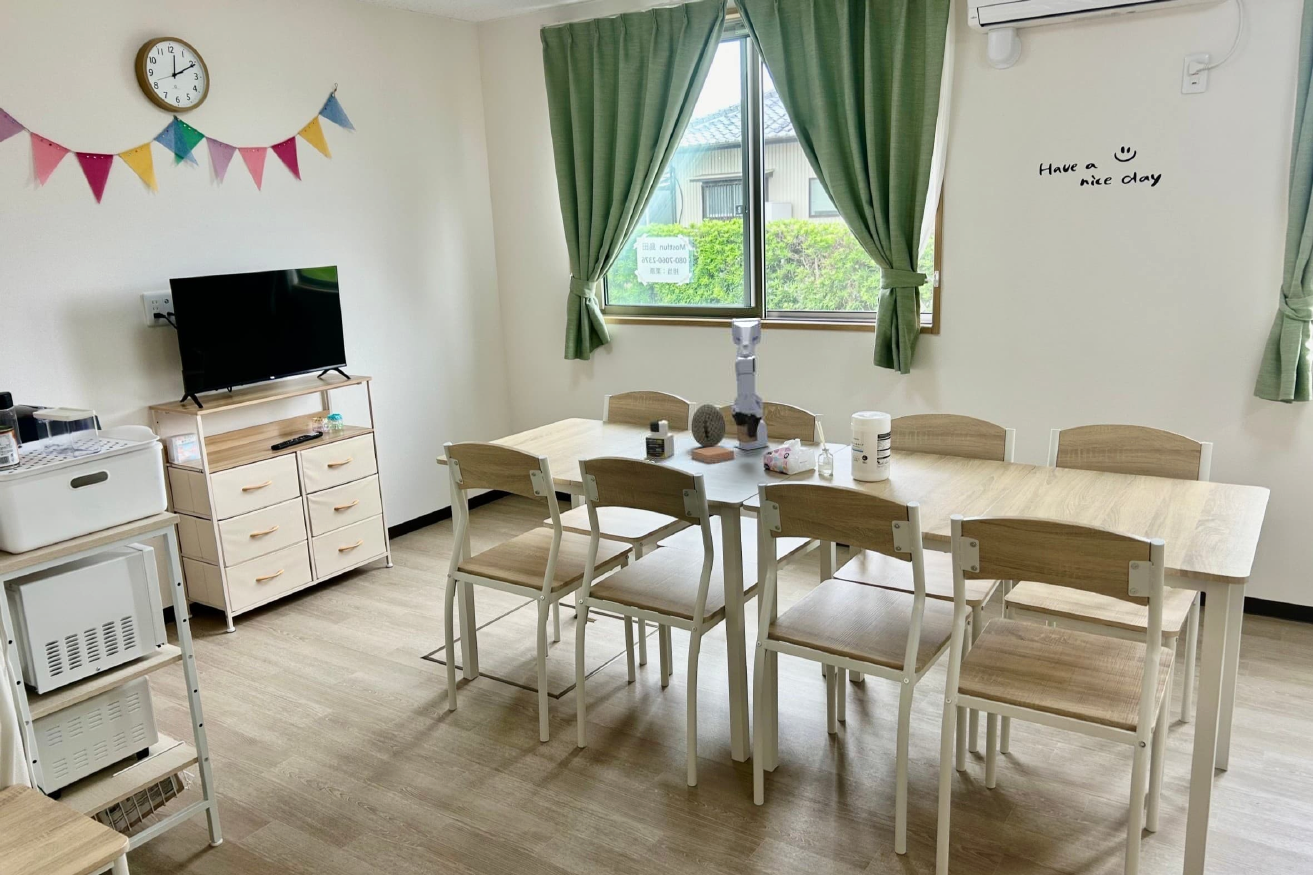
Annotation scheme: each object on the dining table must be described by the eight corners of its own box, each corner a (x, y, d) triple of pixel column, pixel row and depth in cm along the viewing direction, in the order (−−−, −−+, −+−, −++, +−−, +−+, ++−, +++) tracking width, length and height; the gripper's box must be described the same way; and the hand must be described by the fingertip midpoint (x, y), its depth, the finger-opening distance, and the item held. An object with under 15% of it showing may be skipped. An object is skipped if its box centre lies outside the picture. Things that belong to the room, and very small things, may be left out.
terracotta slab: (716, 454, 323) (716, 445, 322) (734, 459, 314) (733, 450, 314) (691, 459, 318) (691, 450, 317) (708, 464, 309) (708, 455, 309)
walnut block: (748, 438, 313) (748, 423, 312) (757, 440, 309) (757, 425, 308) (737, 440, 311) (737, 425, 310) (746, 442, 307) (745, 427, 306)
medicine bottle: (646, 457, 321) (644, 422, 319) (656, 452, 328) (654, 418, 325) (665, 458, 318) (663, 423, 316) (674, 454, 324) (673, 419, 322)
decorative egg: (724, 450, 326) (722, 407, 323) (690, 450, 328) (688, 407, 325) (727, 443, 338) (725, 401, 335) (694, 443, 340) (692, 401, 337)
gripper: (722, 393, 311) (724, 434, 314) (750, 398, 299) (751, 441, 302) (740, 391, 314) (741, 431, 317) (768, 396, 302) (769, 438, 305)
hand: (747, 436), depth 310 cm, fingers closed on walnut block, 5 cm apart
